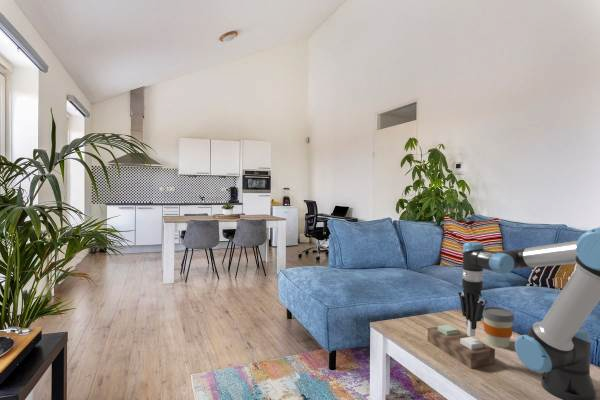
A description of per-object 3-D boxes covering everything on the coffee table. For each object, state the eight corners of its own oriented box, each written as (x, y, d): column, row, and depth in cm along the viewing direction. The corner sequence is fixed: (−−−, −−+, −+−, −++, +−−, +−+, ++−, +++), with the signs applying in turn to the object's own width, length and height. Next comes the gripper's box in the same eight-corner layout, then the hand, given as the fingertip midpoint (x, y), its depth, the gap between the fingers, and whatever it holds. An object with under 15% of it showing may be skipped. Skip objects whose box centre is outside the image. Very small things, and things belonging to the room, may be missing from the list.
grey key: (482, 354, 139) (483, 342, 139) (471, 356, 138) (471, 344, 138) (471, 348, 145) (471, 336, 145) (460, 350, 143) (460, 338, 143)
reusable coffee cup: (501, 352, 148) (502, 318, 147) (476, 340, 159) (476, 308, 159) (519, 346, 153) (520, 313, 152) (494, 335, 164) (494, 305, 164)
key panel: (494, 363, 138) (494, 349, 137) (471, 368, 134) (471, 353, 134) (448, 337, 162) (448, 325, 162) (427, 340, 159) (427, 328, 159)
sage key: (457, 340, 153) (457, 329, 153) (446, 342, 151) (446, 331, 151) (448, 334, 159) (448, 324, 158) (437, 336, 157) (437, 325, 157)
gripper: (453, 276, 146) (452, 330, 146) (477, 284, 133) (476, 343, 134) (467, 275, 148) (466, 328, 149) (492, 283, 135) (491, 341, 136)
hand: (471, 335), depth 141 cm, fingers closed
